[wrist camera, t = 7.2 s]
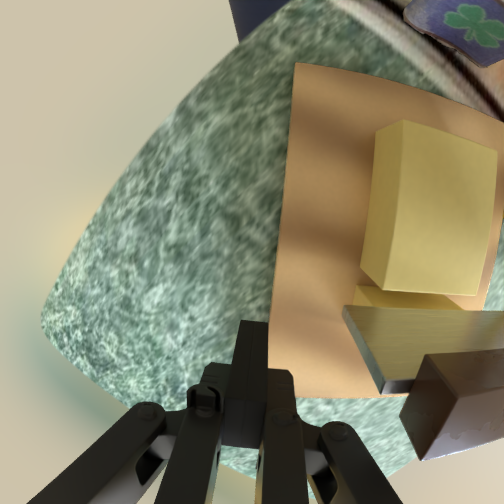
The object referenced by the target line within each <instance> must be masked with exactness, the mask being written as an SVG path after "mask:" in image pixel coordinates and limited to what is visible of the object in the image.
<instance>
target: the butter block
mask: <svg viewBox="0 0 504 504" xmlns="http://www.w3.org/2000/svg"><path fill="white" fill-rule="evenodd" d="M496 174H497V151H496V150H494V149H492V148H489V147H487V146H484V145H482V144H479V143H477V142H474V141H471V140H469V139H466V138H463V137H460V136H457V135H455V134H452V133H449V132H446V131H443V130H439V129H436V128H433V127H430V126H426V125H423V124H420V123H416V122H412V121H409V120H405V119H403V120H401V121H398V122H396V123H394V124H392V125H389V126H387V127H385V128H383V129H381V130H378V131H376V133H375V149H374V161H373V173H372V183H371V192H370V201H369V209H368V216H367V224H366V231H365V237H364V244H363V250H362V256H361V262H360V268H361V269H362V270H363V271H364V272H365V273H366V274H367V275H368V276H369V277H370V278H371V279H372V280H373V281H374V282H375V283H376V284H377V285H378V286H379V287H380V288H381V289H382V290H392V291H405V292H420V293H435V294H451V295H469V296H476V294H477V291H478V287H479V283H480V279H481V275H482V270H483V266H484V261H485V257H486V252H487V246H488V241H489V235H490V229H491V222H492V215H493V207H494V198H495V188H496Z"/></svg>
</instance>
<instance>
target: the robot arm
mask: <svg viewBox="0 0 504 504" xmlns="http://www.w3.org/2000/svg"><path fill="white" fill-rule="evenodd" d="M268 333H269V323H267V322H257V321H248V320H241V321H240V326H239V330H238V335H237V340H236V345H235V349H234V354H233V359H232V364H231V365H230V364H222V363H215V362H211V363H210V364H209V365H207V366H206V367H205V369H204V372H203V375H202V377H201V381H200V383H199V384H196V385H193V386H192V387H190V388H189V389H188V390H187V408H186V409H183V410H179V411H165V410H164V408H163V407H162V406H161V405H159V404H157V403H154V402H141V403H137V404H136V405H134V406H133V407H132V408H131V409H130V410H129V411H128V412H126V413H125V415H123V416H122V417H121V418H120V419H119V420H118V421H117V422H116V423H115V424H114V425H113V426H112V427H111V428H110V429H109V430H107V431H106V432H105V433H104V434H103V435H102V436H101V437H100V438H99V439H98V440H97V441H96V442H95V443H93V444H92V445H91V446H90V447H89V448H88V449H87V450H86V451H85V452H84V453H83V454H82V455H80V456H79V457H78V458H77V459H76V460H75V461H74V462H73V463H72V464H71V465H69V466H68V467H67V468H66V469H65V470H64V471H63V472H62V473H61V474H59V476H57V477H56V478H55V479H54V480H53V481H52V482H51V483H49V484H48V485H47V486H46V487H45V488H44V489H43V490H42V491H40V492H39V493H38V494H37V495H36V496H35V497H33V498H32V499H31V500H30V501H29V502H28V503H27V504H136V503H137V502H138V501H139V500H140V498H141V497H142V496H143V494H144V493H145V492H146V491H147V489H148V488H149V487H150V486H151V484H152V483H153V482H154V480H155V479H156V478H157V477H158V475H159V474H160V473H161V471H162V470H163V469H164V467H165V466H166V464H167V463H168V464H167V467H166V470H165V473H164V476H163V479H162V482H161V484H160V488H159V491H158V493H157V496H156V499H155V502H154V504H212V499H213V493H214V488H215V483H216V476H217V471H218V466H219V461H220V455H221V444H222V445H225V446H233V447H242V448H252V449H259V454H258V459H257V464H256V469H257V474H256V489H255V504H309V498H308V486H307V479H308V481H309V484H310V486H311V488H312V491H313V493H314V495H315V498H316V500H317V502H318V504H403V503H402V501H401V500H400V499H399V497H398V495H397V494H396V492H395V491H394V489H393V488H392V486H391V485H390V483H389V482H388V480H387V479H386V477H385V476H384V474H383V473H382V471H381V470H380V468H379V467H378V465H377V464H376V462H375V460H374V459H373V457H372V456H371V454H370V453H369V451H368V450H367V448H366V447H365V445H364V444H363V442H362V441H361V439H360V437H359V436H358V434H357V433H356V431H355V430H354V429H353V428H352V427H351V426H350V425H348V424H346V423H344V422H340V421H332V422H329V423H326V424H325V425H324V426H322V427H317V426H313V425H310V424H308V423H306V422H304V421H303V420H302V419H301V418H300V416H299V415H298V414H297V409H296V399H295V391H294V390H295V389H294V379H293V375H292V374H291V373H290V371H289V370H287V369H275V368H268Z"/></svg>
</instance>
